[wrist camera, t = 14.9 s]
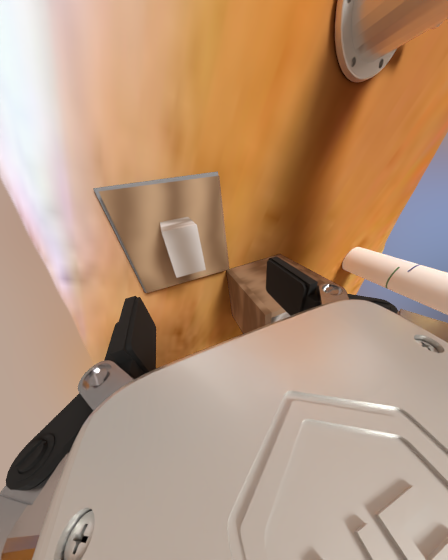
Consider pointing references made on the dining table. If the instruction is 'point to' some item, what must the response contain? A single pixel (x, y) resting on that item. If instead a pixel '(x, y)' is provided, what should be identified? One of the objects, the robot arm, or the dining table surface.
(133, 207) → the lid
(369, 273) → the cylindrical container
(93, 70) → the dining table surface
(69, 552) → the robot arm
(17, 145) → the dining table surface
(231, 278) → the box
